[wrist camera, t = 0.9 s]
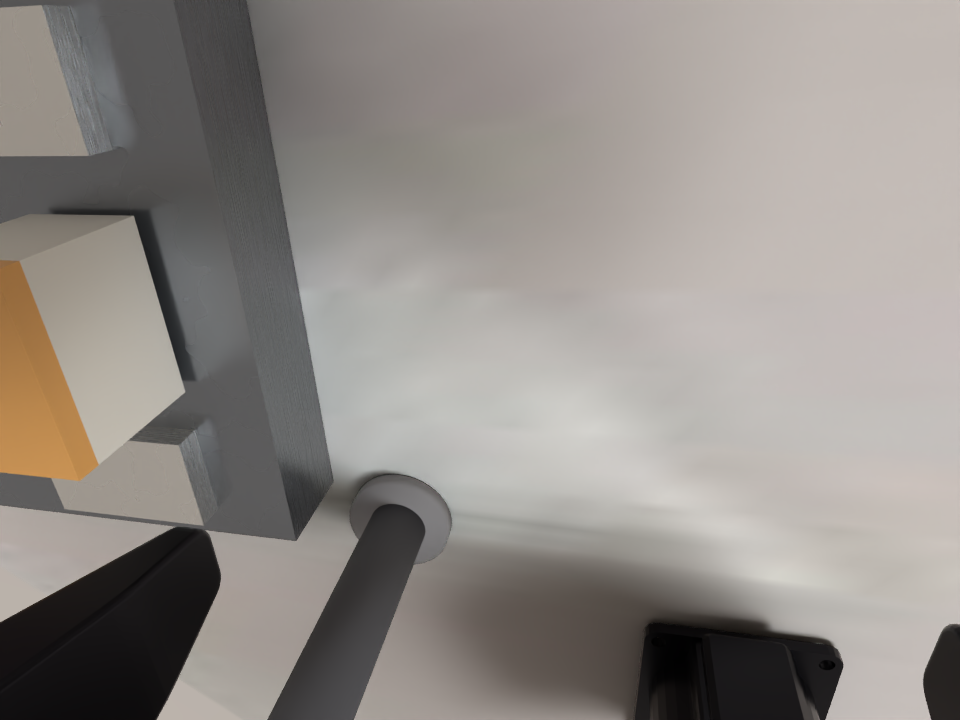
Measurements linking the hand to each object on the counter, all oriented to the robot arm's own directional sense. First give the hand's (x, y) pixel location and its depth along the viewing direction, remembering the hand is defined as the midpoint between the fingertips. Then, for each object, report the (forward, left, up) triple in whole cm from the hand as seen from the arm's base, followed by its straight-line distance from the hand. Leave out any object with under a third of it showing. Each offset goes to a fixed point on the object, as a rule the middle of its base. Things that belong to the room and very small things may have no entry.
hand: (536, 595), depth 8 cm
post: (-9, +6, -11) cm, 16 cm away
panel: (0, +15, -11) cm, 18 cm away
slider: (0, +12, -8) cm, 15 cm away
